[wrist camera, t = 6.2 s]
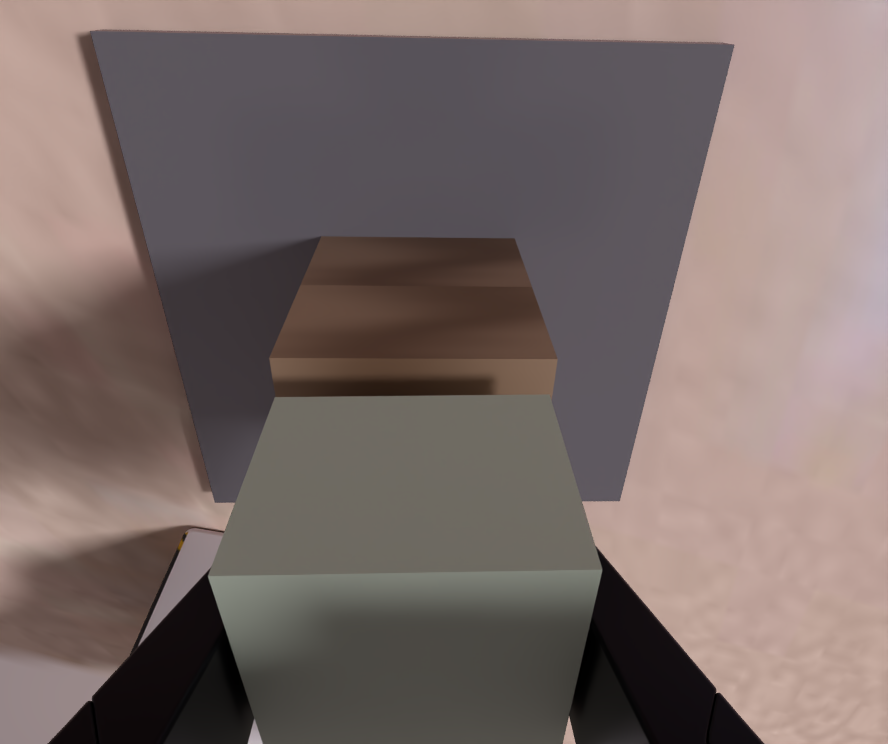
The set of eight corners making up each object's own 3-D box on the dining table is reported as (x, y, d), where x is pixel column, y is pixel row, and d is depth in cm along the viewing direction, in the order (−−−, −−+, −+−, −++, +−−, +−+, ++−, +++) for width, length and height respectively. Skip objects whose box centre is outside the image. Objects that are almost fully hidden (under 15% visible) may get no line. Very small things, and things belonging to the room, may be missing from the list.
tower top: (531, 286, 13) (557, 358, 10) (512, 461, 16) (529, 552, 13) (300, 284, 13) (269, 358, 10) (322, 461, 15) (301, 553, 13)
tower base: (514, 238, 15) (531, 286, 13) (500, 395, 18) (512, 461, 16) (321, 236, 15) (300, 284, 13) (336, 395, 18) (322, 461, 15)
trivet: (723, 42, 14) (734, 44, 13) (614, 488, 21) (619, 501, 21) (103, 29, 13) (90, 30, 13) (220, 489, 21) (214, 502, 20)
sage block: (549, 394, 10) (602, 569, 7) (527, 572, 12) (559, 758, 9) (274, 397, 10) (207, 576, 7) (308, 576, 12) (269, 765, 9)
